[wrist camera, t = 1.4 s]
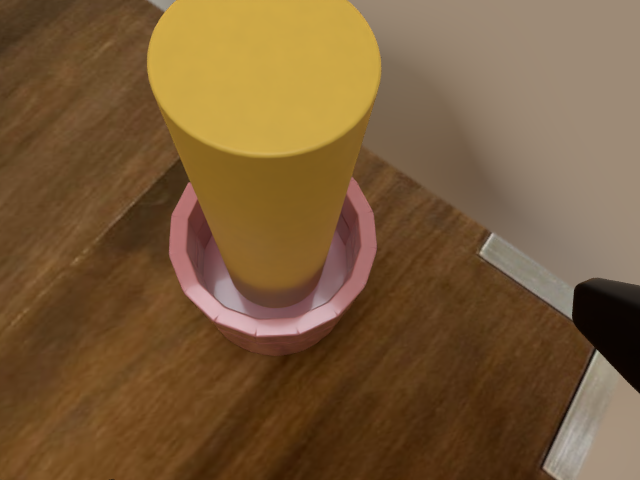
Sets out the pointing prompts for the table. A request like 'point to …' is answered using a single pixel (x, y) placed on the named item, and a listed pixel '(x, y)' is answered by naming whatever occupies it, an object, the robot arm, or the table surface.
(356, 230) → the pot
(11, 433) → the table surface
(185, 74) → the yellow cylinder
